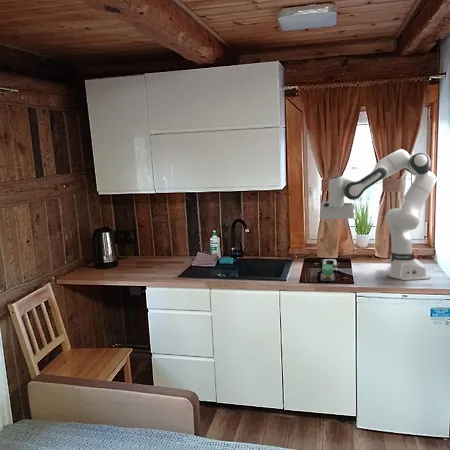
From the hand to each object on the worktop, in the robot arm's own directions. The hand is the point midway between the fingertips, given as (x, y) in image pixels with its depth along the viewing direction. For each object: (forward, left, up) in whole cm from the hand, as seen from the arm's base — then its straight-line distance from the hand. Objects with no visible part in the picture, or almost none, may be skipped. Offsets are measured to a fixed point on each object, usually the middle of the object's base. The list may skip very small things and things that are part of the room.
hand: (336, 226), depth 278 cm
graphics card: (+5, -13, -30) cm, 33 cm away
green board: (+6, +11, -25) cm, 28 cm away
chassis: (+6, +11, -29) cm, 32 cm away
